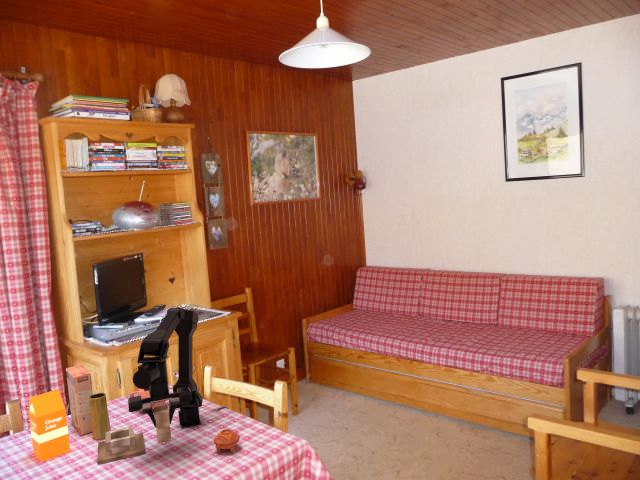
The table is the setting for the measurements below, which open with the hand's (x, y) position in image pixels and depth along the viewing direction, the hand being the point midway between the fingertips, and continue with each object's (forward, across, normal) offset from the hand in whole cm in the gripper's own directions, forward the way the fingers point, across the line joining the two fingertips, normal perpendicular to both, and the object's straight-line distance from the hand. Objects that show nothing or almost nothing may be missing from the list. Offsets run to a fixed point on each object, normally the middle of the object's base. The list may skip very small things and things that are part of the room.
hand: (162, 425), depth 171 cm
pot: (+9, -18, +8) cm, 22 cm away
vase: (+9, +19, -23) cm, 31 cm away
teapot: (+9, +2, -38) cm, 39 cm away
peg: (+5, 0, 0) cm, 5 cm away
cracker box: (+9, +25, -34) cm, 43 cm away
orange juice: (+9, +34, -18) cm, 40 cm away
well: (+9, +13, -9) cm, 18 cm away
